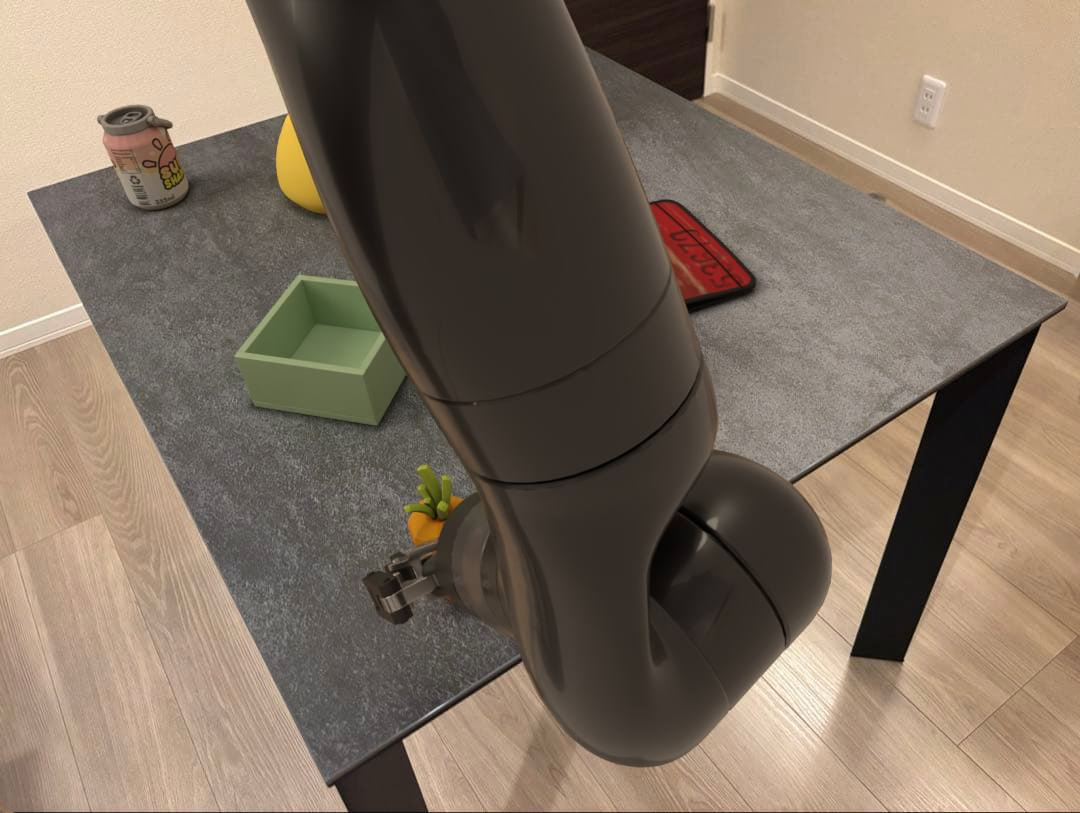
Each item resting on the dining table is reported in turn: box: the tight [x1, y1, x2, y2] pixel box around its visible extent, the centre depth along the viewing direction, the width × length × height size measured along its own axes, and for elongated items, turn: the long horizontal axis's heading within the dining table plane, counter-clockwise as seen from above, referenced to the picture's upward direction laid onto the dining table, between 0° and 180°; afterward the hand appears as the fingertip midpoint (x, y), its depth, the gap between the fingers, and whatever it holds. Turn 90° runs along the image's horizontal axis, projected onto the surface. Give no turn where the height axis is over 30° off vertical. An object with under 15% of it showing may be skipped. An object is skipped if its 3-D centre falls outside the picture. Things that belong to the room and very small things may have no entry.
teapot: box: [275, 113, 326, 215], centre depth 111 cm, size 25×18×14 cm
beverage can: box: [96, 104, 189, 211], centre depth 112 cm, size 9×8×12 cm
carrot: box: [403, 464, 465, 604], centre depth 61 cm, size 5×5×15 cm
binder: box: [649, 198, 757, 312], centre depth 97 cm, size 16×2×21 cm
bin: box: [233, 274, 407, 427], centre depth 85 cm, size 14×14×7 cm
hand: (455, 540), depth 58 cm, fingers open, 8 cm apart
